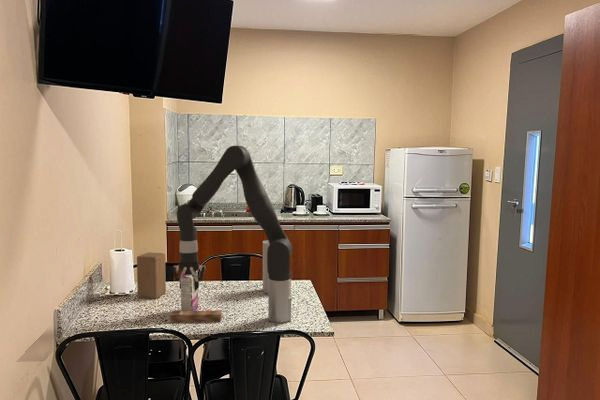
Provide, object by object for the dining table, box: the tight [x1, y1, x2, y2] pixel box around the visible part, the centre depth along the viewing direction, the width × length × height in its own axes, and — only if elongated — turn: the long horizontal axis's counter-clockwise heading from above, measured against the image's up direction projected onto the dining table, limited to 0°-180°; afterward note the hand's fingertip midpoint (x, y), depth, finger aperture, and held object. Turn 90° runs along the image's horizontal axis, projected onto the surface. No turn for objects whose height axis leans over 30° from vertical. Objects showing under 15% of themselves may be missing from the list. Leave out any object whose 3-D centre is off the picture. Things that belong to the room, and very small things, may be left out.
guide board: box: [169, 309, 223, 323], centre depth 191 cm, size 20×5×3 cm, turn 94°
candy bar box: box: [179, 270, 199, 311], centre depth 199 cm, size 11×5×16 cm, turn 179°
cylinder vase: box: [262, 239, 270, 295], centre depth 231 cm, size 12×12×25 cm
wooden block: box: [136, 251, 167, 300], centre depth 222 cm, size 10×10×20 cm
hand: (189, 289), depth 199 cm, fingers closed on candy bar box, 5 cm apart
